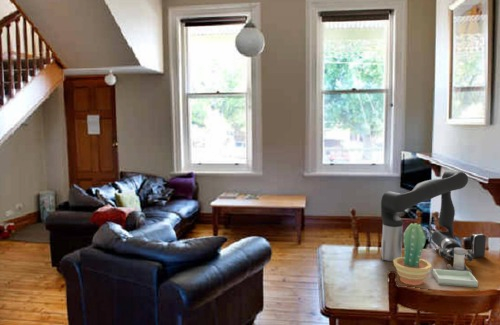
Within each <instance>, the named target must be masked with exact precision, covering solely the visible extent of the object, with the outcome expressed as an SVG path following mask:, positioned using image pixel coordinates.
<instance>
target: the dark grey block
mask: <svg viewBox="0 0 500 325" xmlns="http://www.w3.org/2000/svg"><path fill="white" fill-rule="evenodd" d="M469 240H470V242H469V244H470V245H471V249H472V250H471V251H472V252H473V253H474V259H475V258H476V259H477V258H483V257H485V256H486V245H487V244H486V242H487V236H486V235H485V234H483V233H473V234H471V235H470V238H469Z"/></svg>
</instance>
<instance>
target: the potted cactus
mask: <svg viewBox="0 0 500 325" xmlns="http://www.w3.org/2000/svg"><path fill="white" fill-rule="evenodd" d="M402 236H403V246H404V253H403V254H404V256H402V257H398V258H396V259H394V260H393V261H392V262H393V266H394V267H395V269H396V273H397V274H398V276H399V277H400V279H399V280H400V282H402V283H404V284H406V285H410V286H419V285H422V284H423V280H424V279H425V278H426V277H427V275H428V273H429V271H431V269H432V264H431V262H429V261H428V260H426V259H423V258H421V255H422V251H423V249H424V247H425V244H426V240H427V239H428V242H430V240H431V233H430V230H429V229H428V228H427V227H426V226H422V225H421V224H418V223H417V222H414V223H412V222H411V223H410V224H409V225H407V227H406V229H405V230H404V232H403V233H402Z"/></svg>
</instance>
